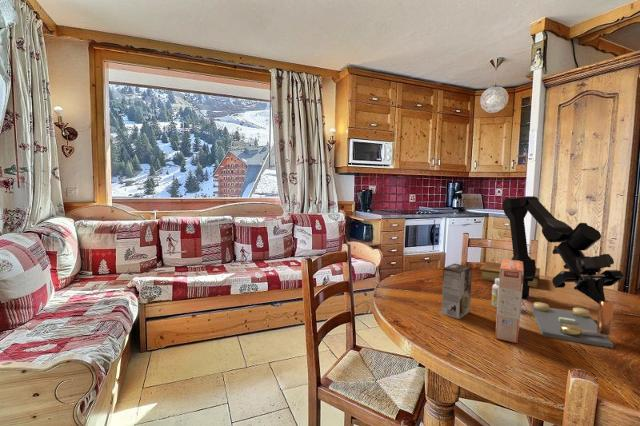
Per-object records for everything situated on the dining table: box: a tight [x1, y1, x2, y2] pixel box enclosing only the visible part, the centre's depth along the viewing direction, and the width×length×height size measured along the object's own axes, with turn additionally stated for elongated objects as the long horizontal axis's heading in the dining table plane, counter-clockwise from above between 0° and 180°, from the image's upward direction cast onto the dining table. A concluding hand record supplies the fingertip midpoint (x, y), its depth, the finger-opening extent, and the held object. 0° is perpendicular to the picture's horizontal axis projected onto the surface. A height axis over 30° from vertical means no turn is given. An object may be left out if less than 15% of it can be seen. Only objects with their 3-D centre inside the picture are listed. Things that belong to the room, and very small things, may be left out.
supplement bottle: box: [491, 278, 499, 308], centre depth 120 cm, size 5×5×10 cm
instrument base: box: [530, 301, 614, 349], centre depth 103 cm, size 16×24×3 cm, turn 154°
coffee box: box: [441, 263, 473, 320], centre depth 112 cm, size 9×6×16 cm
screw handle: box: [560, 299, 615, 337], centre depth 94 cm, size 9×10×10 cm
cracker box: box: [494, 259, 523, 344], centre depth 97 cm, size 14×6×21 cm, turn 148°
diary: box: [479, 261, 541, 290], centre depth 154 cm, size 23×19×6 cm
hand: (604, 305), depth 94 cm, fingers closed, pressing on screw handle
